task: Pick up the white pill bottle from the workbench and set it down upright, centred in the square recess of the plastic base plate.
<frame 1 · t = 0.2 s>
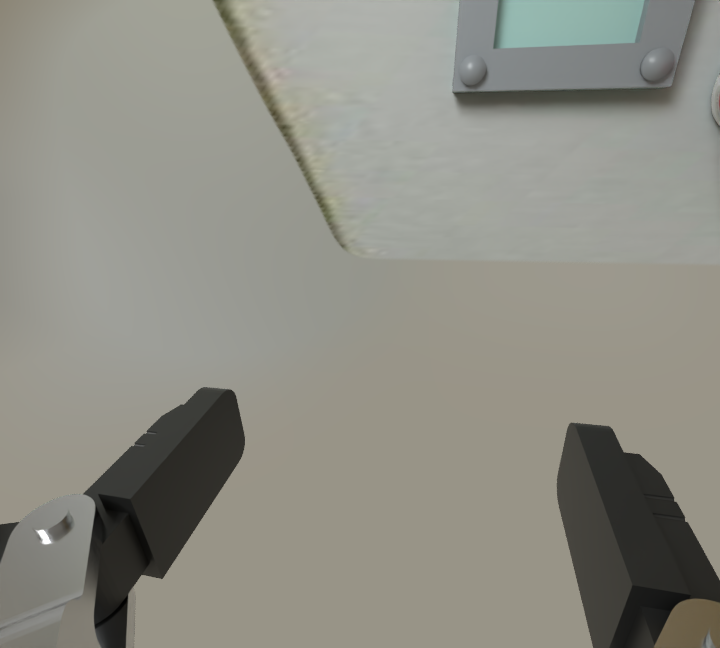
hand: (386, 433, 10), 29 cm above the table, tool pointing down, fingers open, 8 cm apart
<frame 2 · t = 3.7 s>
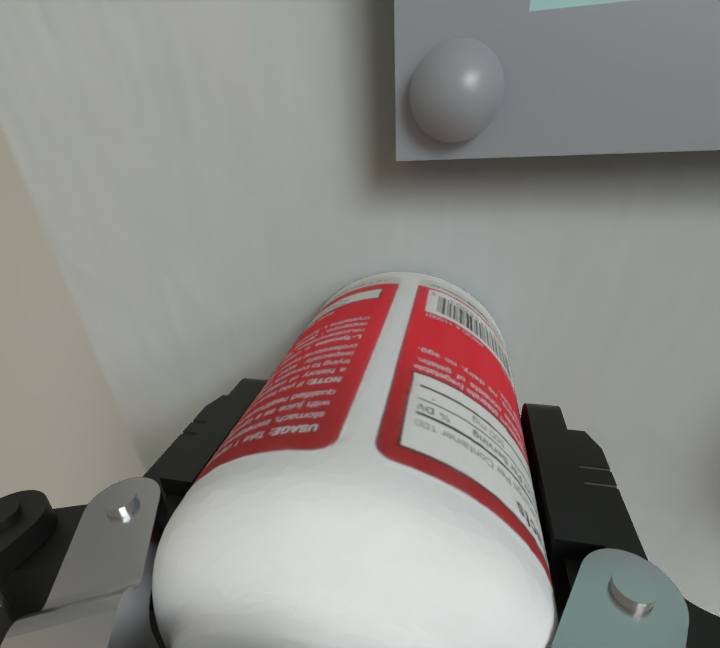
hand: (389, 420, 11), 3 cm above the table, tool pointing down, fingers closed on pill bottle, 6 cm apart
pill bottle: (406, 354, 14), on the table, touching gripper
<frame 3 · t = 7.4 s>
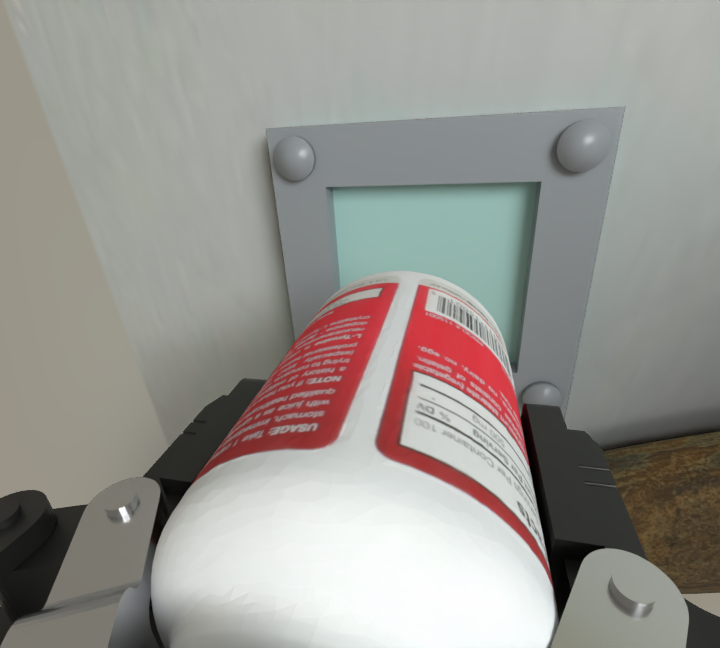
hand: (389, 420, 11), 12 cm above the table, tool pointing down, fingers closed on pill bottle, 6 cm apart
brown piece: (649, 460, 23), on the table
base plate: (428, 273, 21), on the table
pill bottle: (406, 353, 13), point 9 cm above the table, touching gripper
when the fingers open (5 cm above the table, at t = 9.5 s): pill bottle drops 1 cm, resting on base plate.
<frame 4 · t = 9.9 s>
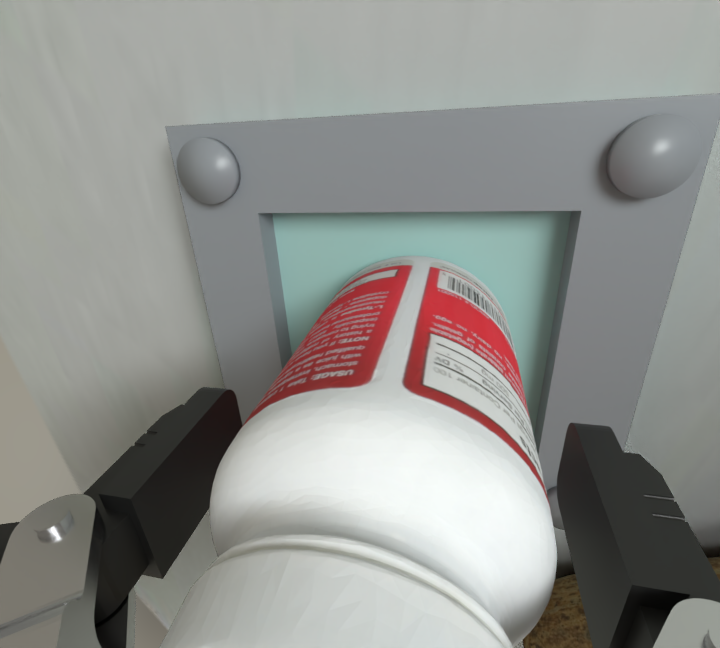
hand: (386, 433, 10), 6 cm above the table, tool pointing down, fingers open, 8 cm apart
brown piece: (706, 571, 17), on the table
base plate: (411, 330, 15), on the table
pill bottle: (416, 334, 15), resting on base plate
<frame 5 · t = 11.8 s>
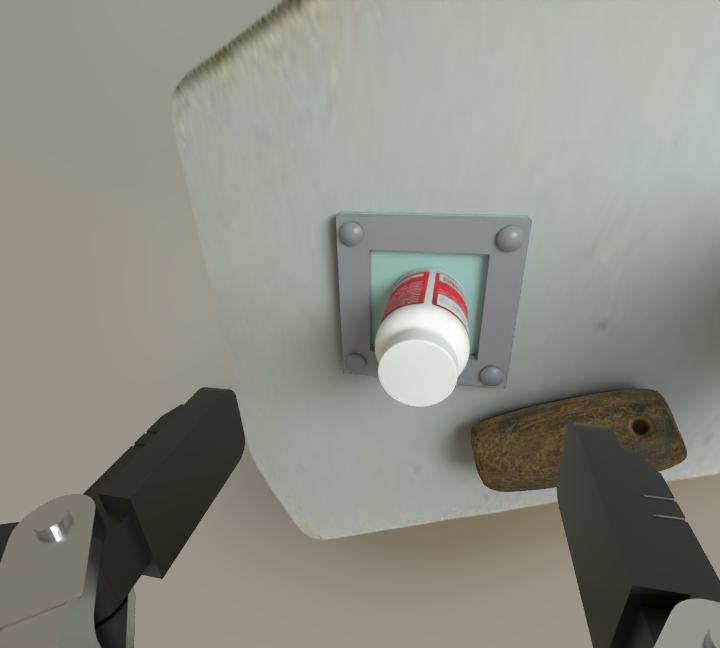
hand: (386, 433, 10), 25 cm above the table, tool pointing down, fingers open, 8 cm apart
brown piece: (557, 414, 37), on the table
base plate: (426, 299, 35), on the table
pill bottle: (428, 300, 34), resting on base plate
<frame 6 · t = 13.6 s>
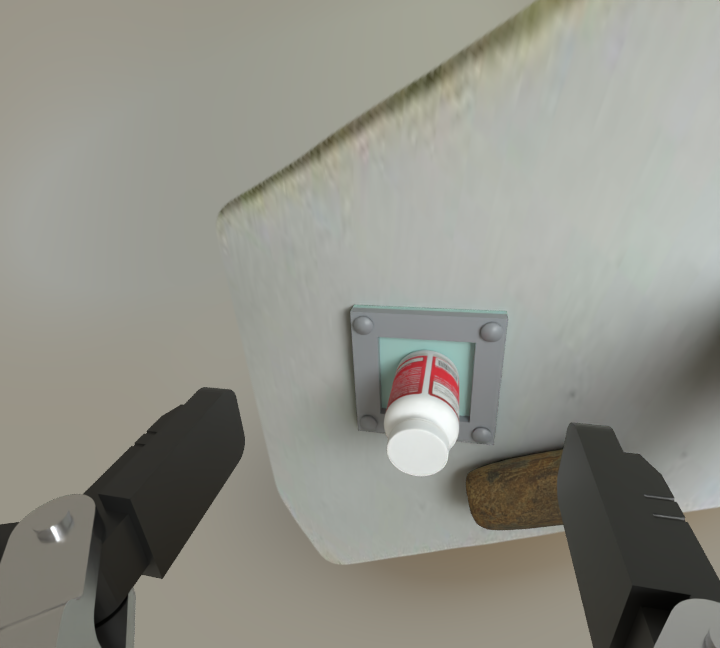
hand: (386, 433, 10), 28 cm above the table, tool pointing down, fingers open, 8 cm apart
brown piece: (539, 463, 44), on the table
base plate: (425, 372, 42), on the table
pill bottle: (427, 373, 41), resting on base plate
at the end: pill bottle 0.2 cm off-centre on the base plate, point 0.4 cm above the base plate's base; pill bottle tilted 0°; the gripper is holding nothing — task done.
